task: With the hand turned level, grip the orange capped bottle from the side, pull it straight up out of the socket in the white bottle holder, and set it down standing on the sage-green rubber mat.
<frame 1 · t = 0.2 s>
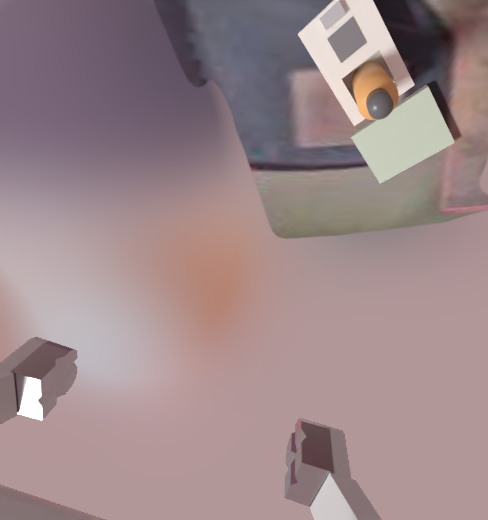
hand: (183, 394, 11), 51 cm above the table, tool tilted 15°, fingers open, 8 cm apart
orange capped bottle: (367, 78, 47), point 1 cm above the table, touching white bottle holder
white bottle holder: (355, 55, 46), on the table
mat: (400, 137, 52), on the table
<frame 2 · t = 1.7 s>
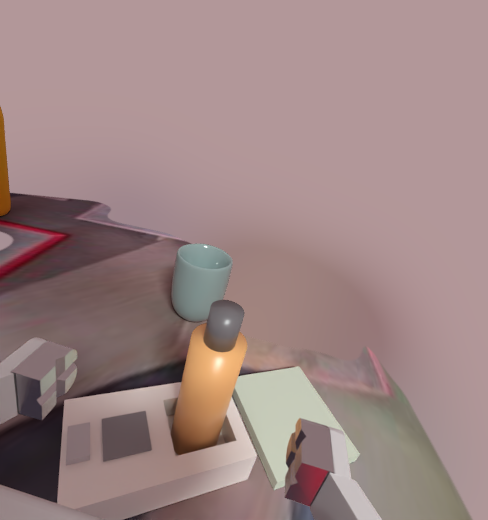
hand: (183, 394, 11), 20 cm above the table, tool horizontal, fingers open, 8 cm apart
cup: (193, 313, 49), on the table
orange capped bottle: (194, 436, 30), point 1 cm above the table, touching white bottle holder
white bottle holder: (155, 452, 29), on the table
mat: (287, 420, 36), on the table
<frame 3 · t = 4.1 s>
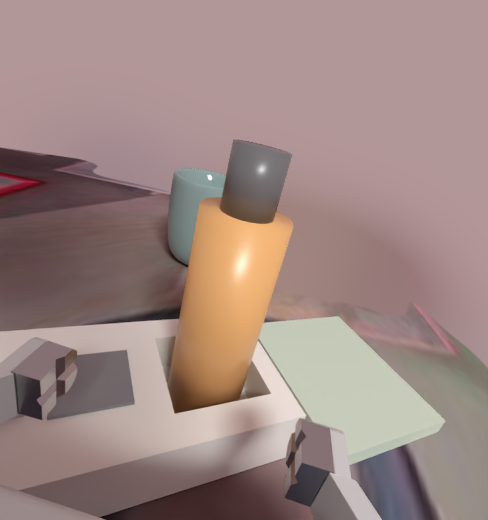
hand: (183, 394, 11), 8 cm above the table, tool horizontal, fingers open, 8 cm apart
cup: (195, 261, 39), on the table
orange capped bottle: (203, 394, 20), point 1 cm above the table, touching white bottle holder
white bottle holder: (143, 417, 19), on the table
mat: (332, 378, 25), on the table
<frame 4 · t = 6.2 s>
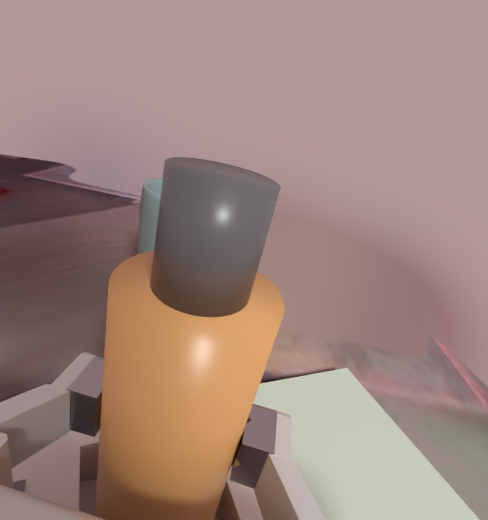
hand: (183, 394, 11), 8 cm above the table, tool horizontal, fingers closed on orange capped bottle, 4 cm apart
cup: (174, 289, 32), on the table
mat: (341, 470, 19), on the table
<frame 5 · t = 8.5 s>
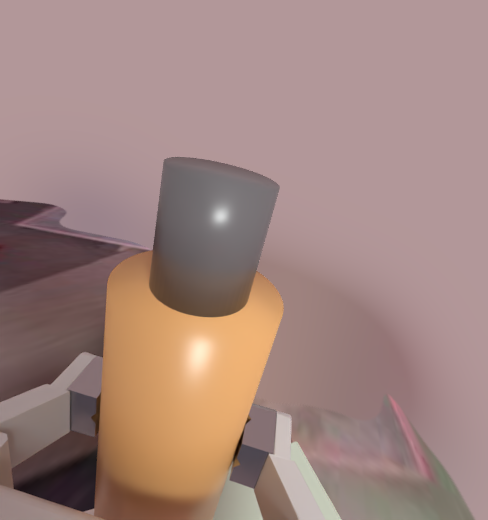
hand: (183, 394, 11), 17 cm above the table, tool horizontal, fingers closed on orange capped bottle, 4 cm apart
when the fingers open (9 cm above the table, at t = 11.0 s): orange capped bottle drops 1 cm, resting on mat.
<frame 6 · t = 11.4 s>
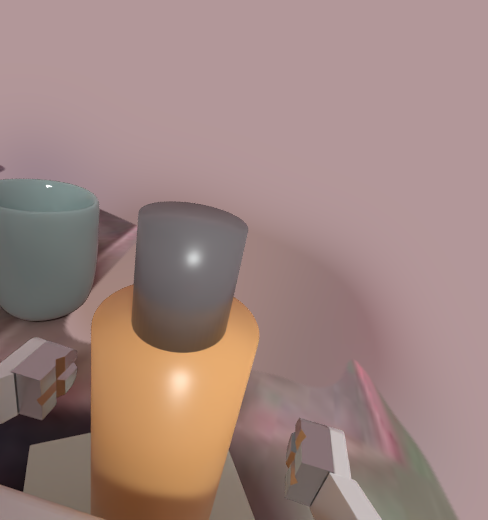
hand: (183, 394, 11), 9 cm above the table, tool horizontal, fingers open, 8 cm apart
cup: (45, 307, 28), on the table
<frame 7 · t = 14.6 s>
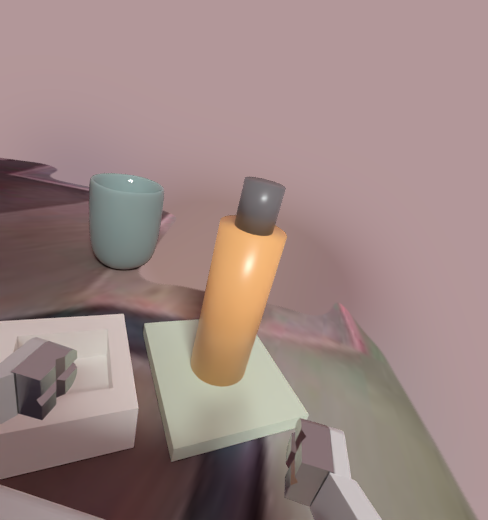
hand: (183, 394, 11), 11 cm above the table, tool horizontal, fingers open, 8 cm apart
cup: (122, 263, 40), on the table
orange capped bottle: (218, 364, 26), point 1 cm above the table, touching mat
mat: (215, 375, 26), on the table
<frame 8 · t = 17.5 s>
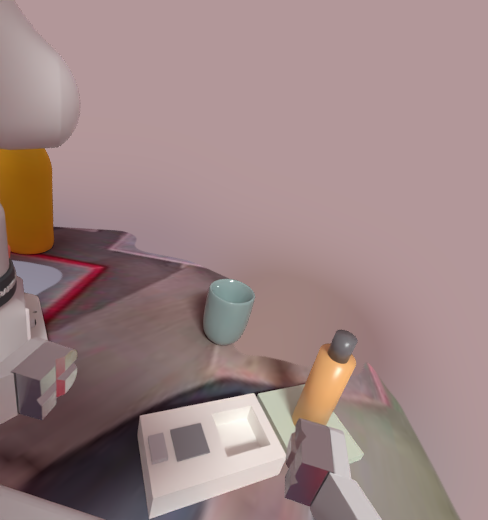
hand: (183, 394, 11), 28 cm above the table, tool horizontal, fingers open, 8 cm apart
beer bottle: (29, 246, 71), on the table
cup: (220, 337, 58), on the table
orange capped bottle: (307, 422, 44), point 1 cm above the table, touching mat
white bottle holder: (207, 454, 38), on the table
mat: (305, 427, 45), on the table
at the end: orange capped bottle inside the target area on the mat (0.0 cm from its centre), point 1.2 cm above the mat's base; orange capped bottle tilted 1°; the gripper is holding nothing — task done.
